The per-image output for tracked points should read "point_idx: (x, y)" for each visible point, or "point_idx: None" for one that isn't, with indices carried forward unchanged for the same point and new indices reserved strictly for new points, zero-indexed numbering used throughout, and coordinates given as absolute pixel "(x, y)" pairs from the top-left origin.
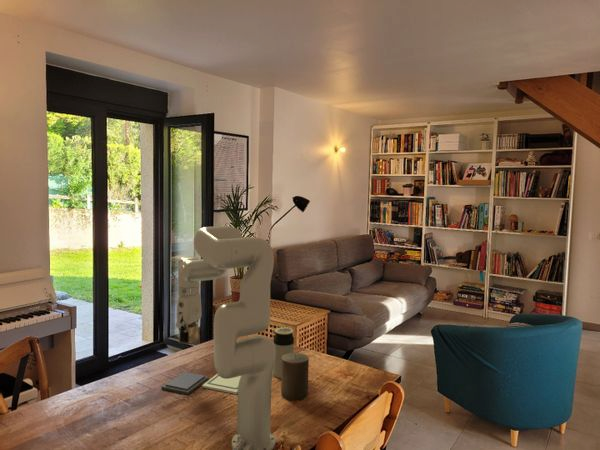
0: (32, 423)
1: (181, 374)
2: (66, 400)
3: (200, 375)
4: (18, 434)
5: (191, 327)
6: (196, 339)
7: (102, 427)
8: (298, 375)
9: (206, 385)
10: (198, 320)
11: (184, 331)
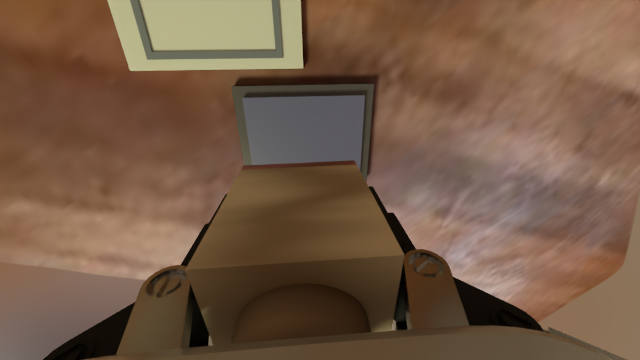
0: (554, 285)
1: None
2: None
3: (249, 114)
4: (591, 276)
5: (363, 265)
6: (265, 170)
7: (575, 174)
8: None
9: (297, 50)
10: (69, 344)
11: (438, 269)
